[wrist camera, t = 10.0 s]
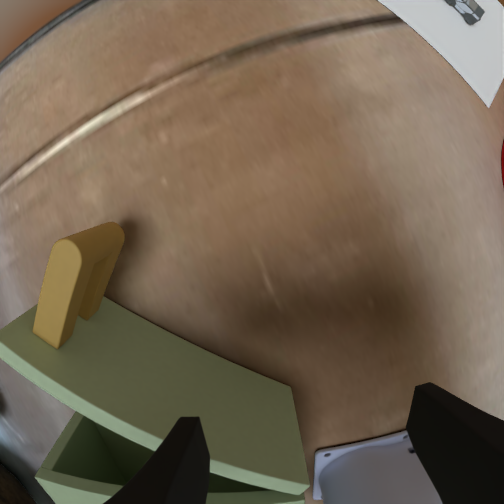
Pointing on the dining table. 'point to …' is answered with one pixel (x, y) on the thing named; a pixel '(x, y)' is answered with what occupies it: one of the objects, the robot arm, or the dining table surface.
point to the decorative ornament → (503, 162)
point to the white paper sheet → (461, 37)
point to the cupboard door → (148, 371)
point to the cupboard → (123, 469)
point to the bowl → (12, 489)
